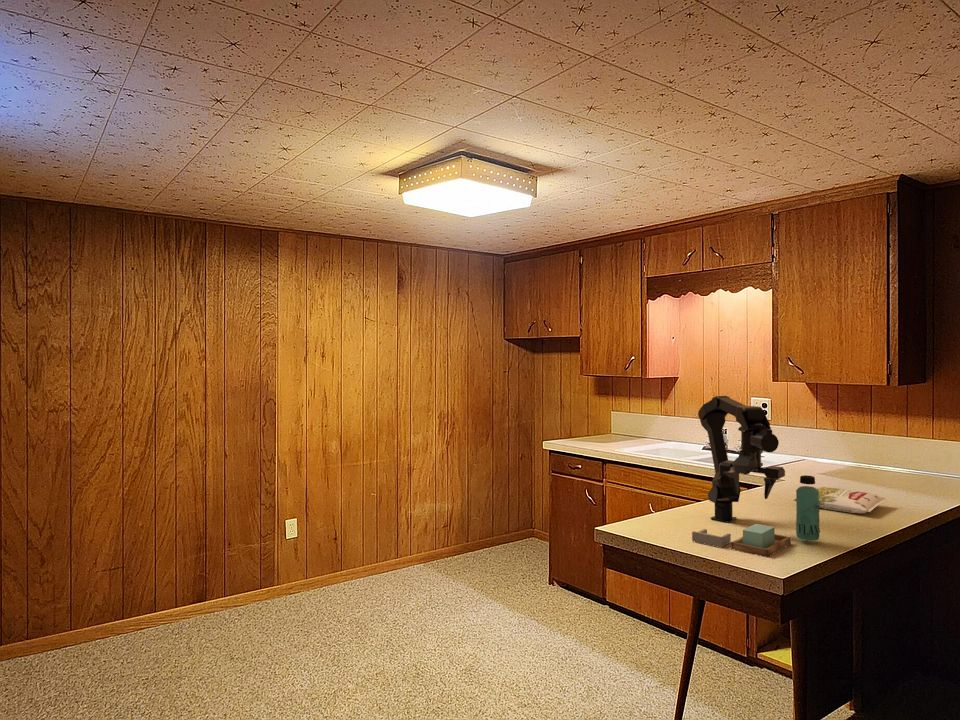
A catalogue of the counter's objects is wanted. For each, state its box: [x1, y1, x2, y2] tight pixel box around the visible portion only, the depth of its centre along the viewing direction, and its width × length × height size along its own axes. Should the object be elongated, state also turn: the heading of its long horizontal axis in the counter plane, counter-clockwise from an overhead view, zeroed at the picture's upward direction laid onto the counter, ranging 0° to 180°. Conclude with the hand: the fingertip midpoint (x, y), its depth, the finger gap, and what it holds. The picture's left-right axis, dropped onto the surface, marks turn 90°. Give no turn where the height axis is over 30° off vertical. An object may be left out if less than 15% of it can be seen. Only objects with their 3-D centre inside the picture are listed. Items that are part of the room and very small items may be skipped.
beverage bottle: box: [795, 475, 821, 542], centre depth 195 cm, size 6×7×20 cm
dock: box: [691, 528, 732, 548], centre depth 197 cm, size 7×9×3 cm
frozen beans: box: [792, 486, 887, 514], centre depth 235 cm, size 21×6×25 cm
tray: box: [730, 533, 792, 558], centre depth 192 cm, size 17×11×2 cm, turn 134°
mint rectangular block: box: [742, 523, 776, 549], centre depth 192 cm, size 10×6×5 cm, turn 134°
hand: (751, 496), depth 205 cm, fingers open, 9 cm apart
